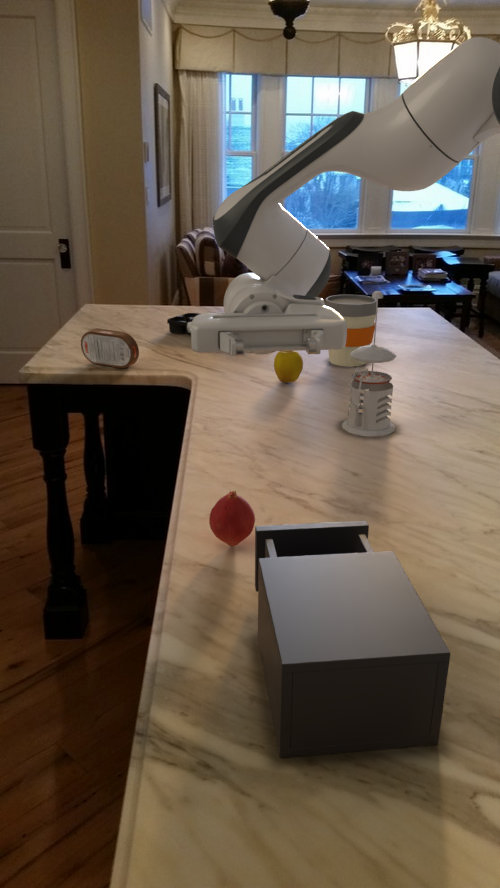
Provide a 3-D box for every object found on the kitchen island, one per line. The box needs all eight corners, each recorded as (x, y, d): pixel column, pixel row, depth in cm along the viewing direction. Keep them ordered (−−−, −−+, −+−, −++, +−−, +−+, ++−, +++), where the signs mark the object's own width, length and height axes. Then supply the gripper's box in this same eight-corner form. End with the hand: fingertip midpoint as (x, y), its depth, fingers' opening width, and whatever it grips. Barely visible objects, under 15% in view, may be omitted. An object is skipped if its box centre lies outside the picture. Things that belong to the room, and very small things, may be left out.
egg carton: (182, 323, 207) (181, 311, 206) (280, 331, 199) (280, 318, 198) (157, 337, 192) (156, 324, 190) (262, 346, 184) (263, 332, 182)
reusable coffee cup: (311, 360, 171) (313, 298, 165) (345, 351, 179) (348, 292, 173) (350, 371, 163) (354, 307, 157) (384, 362, 170) (389, 299, 164)
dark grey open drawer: (253, 580, 82) (253, 520, 79) (359, 574, 83) (363, 515, 80) (271, 672, 68) (273, 603, 65) (399, 663, 69) (406, 595, 66)
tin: (140, 367, 165) (138, 332, 162) (133, 371, 163) (131, 335, 160) (88, 360, 171) (85, 326, 168) (80, 363, 169) (77, 328, 165)
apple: (303, 386, 152) (304, 350, 149) (274, 386, 152) (274, 350, 149) (301, 377, 158) (302, 343, 155) (273, 377, 158) (273, 343, 155)
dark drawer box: (257, 638, 74) (258, 558, 70) (386, 630, 75) (393, 550, 71) (279, 758, 59) (281, 664, 55) (438, 744, 61) (450, 652, 57)
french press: (403, 424, 132) (416, 289, 122) (377, 444, 123) (388, 300, 113) (356, 413, 137) (364, 283, 127) (327, 432, 128) (334, 293, 118)
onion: (201, 543, 92) (199, 488, 88) (235, 529, 95) (235, 475, 92) (228, 562, 87) (228, 504, 84) (263, 546, 91) (264, 491, 88)
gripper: (185, 299, 95) (189, 325, 83) (333, 297, 98) (359, 321, 85) (186, 344, 98) (191, 376, 85) (330, 341, 100) (355, 371, 88)
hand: (276, 349), depth 85 cm, fingers open, 8 cm apart
